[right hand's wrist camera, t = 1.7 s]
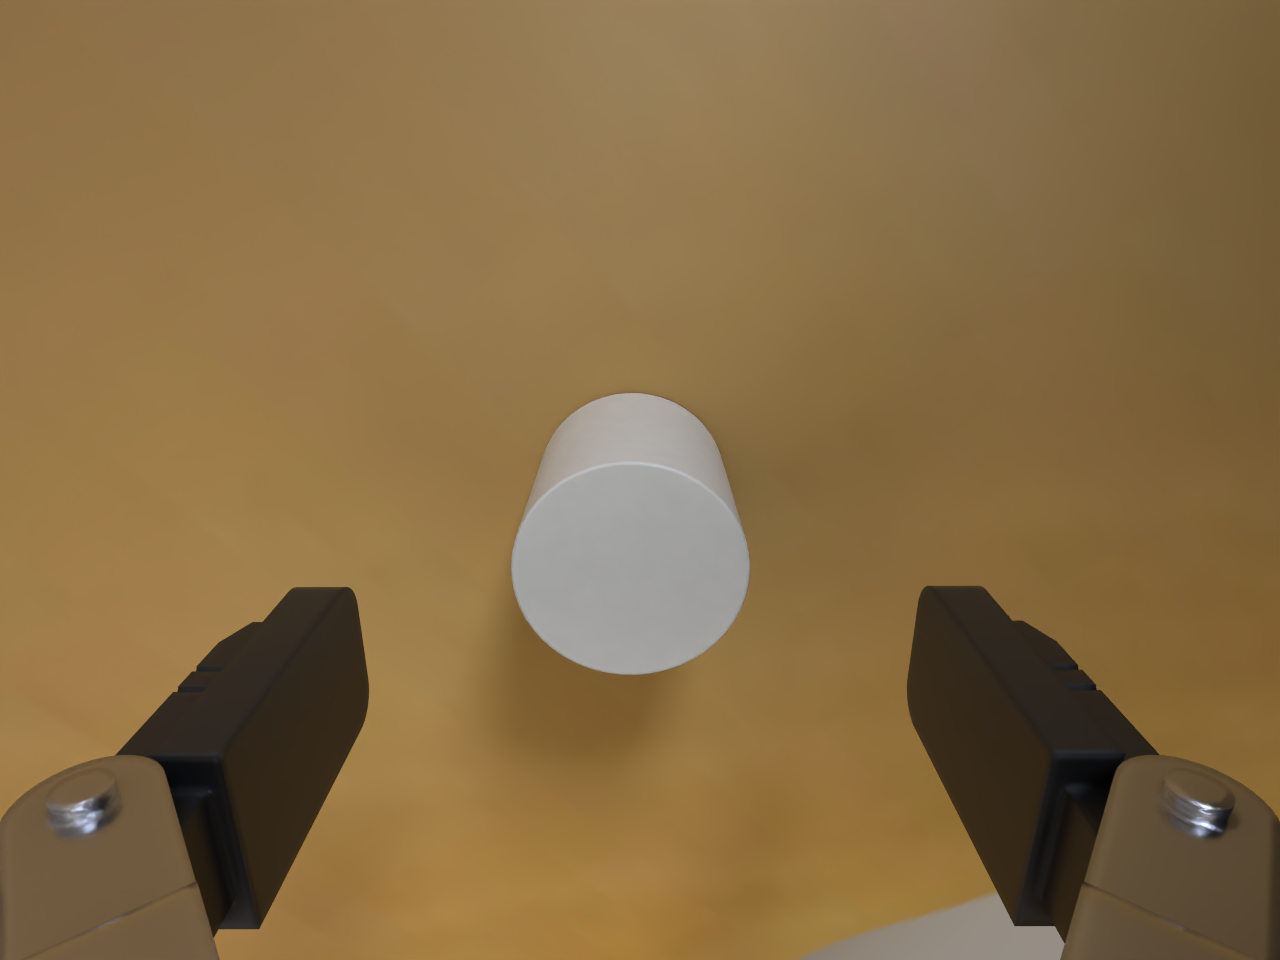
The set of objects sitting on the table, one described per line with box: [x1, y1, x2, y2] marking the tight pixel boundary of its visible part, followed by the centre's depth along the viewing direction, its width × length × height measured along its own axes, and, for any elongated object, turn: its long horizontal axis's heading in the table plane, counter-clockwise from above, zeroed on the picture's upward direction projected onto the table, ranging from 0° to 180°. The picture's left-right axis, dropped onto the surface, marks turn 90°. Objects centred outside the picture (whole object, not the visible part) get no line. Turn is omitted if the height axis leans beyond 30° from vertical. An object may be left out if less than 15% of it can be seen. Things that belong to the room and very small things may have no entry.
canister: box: [511, 393, 750, 675], centre depth 15 cm, size 4×4×4 cm
